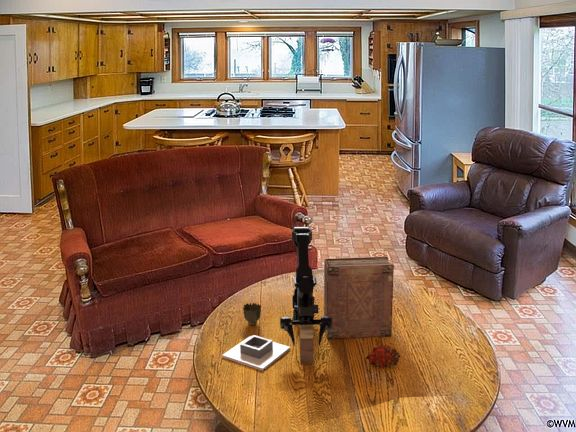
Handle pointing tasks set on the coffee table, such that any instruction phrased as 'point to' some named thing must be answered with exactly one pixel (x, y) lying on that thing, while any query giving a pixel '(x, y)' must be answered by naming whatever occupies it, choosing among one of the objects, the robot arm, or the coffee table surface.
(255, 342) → the plate
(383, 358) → the dragon fruit
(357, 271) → the book
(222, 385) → the coffee table surface
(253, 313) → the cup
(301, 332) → the walnut post
